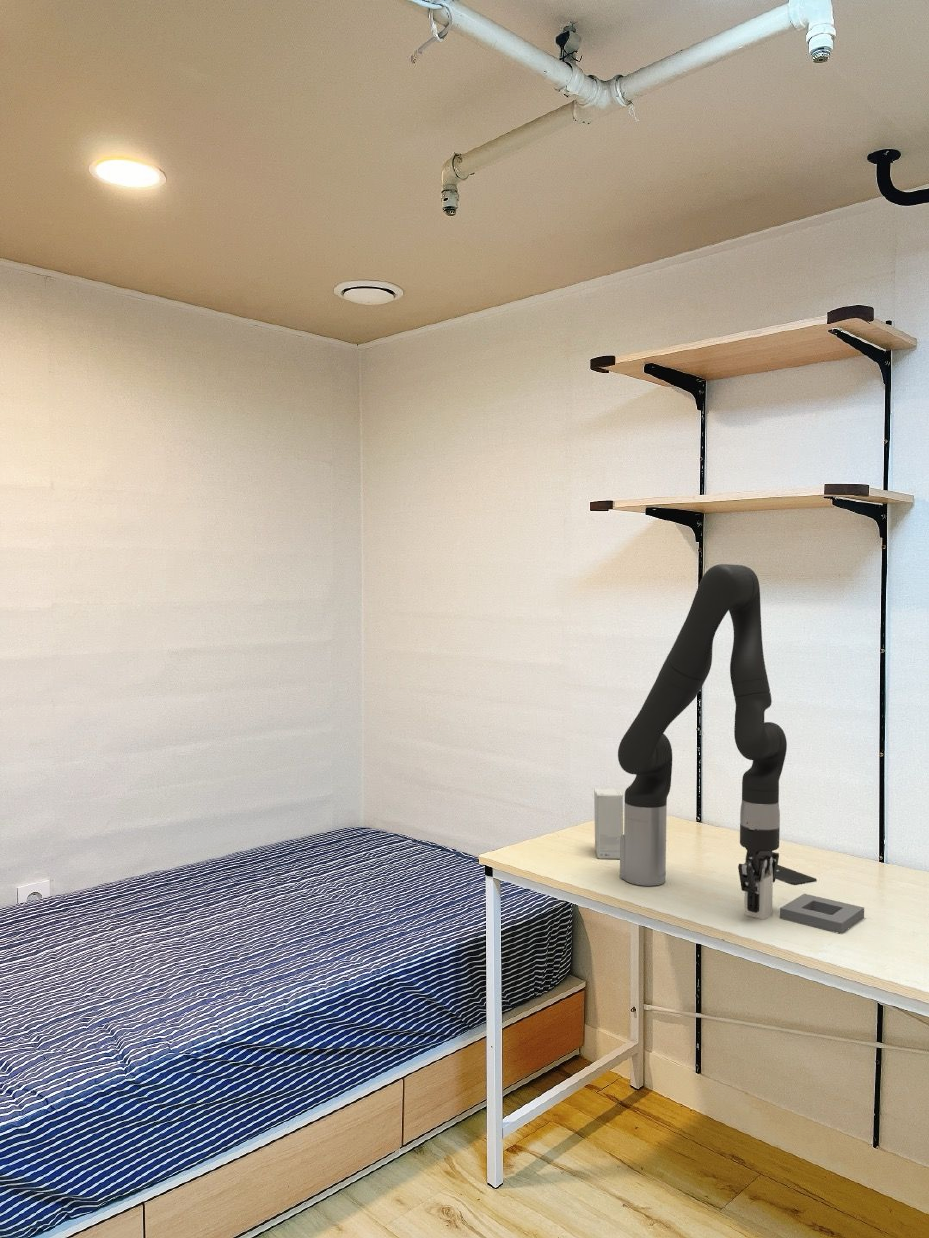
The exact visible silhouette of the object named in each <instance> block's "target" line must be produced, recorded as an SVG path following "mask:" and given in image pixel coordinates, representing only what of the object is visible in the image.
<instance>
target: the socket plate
mask: <svg viewBox="0 0 929 1238" xmlns="http://www.w3.org/2000/svg"><path fill="white" fill-rule="evenodd" d="M864 918H865V907H863V906H859V905H855V904H850V903H845V902H842V901H838V900H834V899H829V898H825V897H821V896H816V895H811V894H807V893H803V894H801V895H799V896H798V897H796V898H795V899H793V900H791V901H789V902H788V903H786V904H784V905H783V906H781V907H779V919H782V920H786V921H789V922H794V923H797V924H801V925H806V926H809V927H813V928H816V927H817V928H818V929H821V930H824V931H828V932H832V933H836V932H838V933H837V934H840V933H842V934H844V933H845V932H846V931H848V930H849V929H850V928H852V927H853V926H854V925H856V924H857V923H859V922H860V921H861V920H863V919H864ZM851 926H852V927H851ZM848 928H849V929H848Z"/></svg>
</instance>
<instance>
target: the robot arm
mask: <svg viewBox="0 0 929 1238" xmlns="http://www.w3.org/2000/svg"><path fill="white" fill-rule="evenodd" d="M760 587H761V586H760V581H759V579H758V576H757V574H756V572H755V570H753V569H751V568H750V567H748V566H746V565H742V564H741V565H740V564H731V563H730V564H727V563H720V564H716V565H713V566H711V567H710V568H708V570H707V571H706V572H705V573H704V575H702V578H701V580H700V582H699V584H698V586H697V589H696V592H695V595H694V597H693V599H692V603H691V606H690V608H689V611H688V614H687V616H686V618H685V621H684V622H683V625H682V626H681V628H680V630H679V633H678V634H677V636H676V639H675V641H674V642H673V645H672V648H670V651H669V653H668V655H667V656H666V658H665V660H664V663H663V664H662V665H661V668H660V670H659V672H658V675H657V677H656V679H655V681H654V683H653V685H652V687H651V689H650V691H649V693H648V695H647V696H646V698H645V701H644V703H643V705H641V706H642V707H641V708H640V710H639V712H638V714H637V715H636V717H635V718H634V719H633V721H632V723H631V724H630V726H629V727H628V729H627V731H626V732H625V734H624V735H623V737H622V738H621V739H620V740H621V741H620V742H619V745H618V750H617V759H618V763H619V766H620V768H621V769H622V770H623V772H625V773H628V774H629V775H636V776H635V777H634V779H633V781H632V783H631V784H630V785H628V787H627V788H626V789H625V791H624V804H623V835H621V837H620V859H619V879H623V880H624V881H625V882H627V883H629V884H632V885H636V886H637V885H638V886H644V887H645V886H649V887H653V886H659V885H662V884H664V883H666V874H667V873H666V872H667V869H666V867H667V862H666V861H667V816H668V815H667V814H668V813H667V808H668V806H667V803H668V796H669V794H670V791H671V787H672V771H673V748H672V744H671V741H670V739H669V738H668V737H667V735H666V734H665V732H666V730H667V729H668V727H669V726H670V725H671V724H672V723H673V721H675V720H676V718H678V716H680V714H682V712H684V710H686V709H687V708H688V707H689V705H690V704H691V703H692V702H693V701H695V699H696V697H697V695H698V694H699V693H700V691H701V689H702V687H703V685H704V684H705V682H706V680H707V677H708V676H709V674H710V671H711V669H712V663H713V647H714V646H713V645H714V643H713V642H714V638H715V635H716V633H717V630H718V628H719V627H720V625H721V623H722V621H723V619H724V618H725V616H726V615H727V613H728V612H729V615H730V618H731V623H732V627H733V629H732V630H733V643H732V650H731V655H730V662H729V675H730V683H731V687H732V688H731V689H732V691H733V697H734V702H735V713H734V726H733V727H734V728H733V729H734V730H733V732H734V742H735V745H736V748H737V750H738V751H739V753H740V755H741V756H743V758H744V759H747V760H749V761H752V763H751V766H750V768H749V769H748V770H746V771H744V773H743V775H742V780H741V803H740V812H739V815H740V816H739V821H740V822H739V844H740V846H741V847H743V848H744V849H745V850H746V854H745V861H744V863H738V866H737V869H738V875H739V876H738V877H739V881H740V882H739V883H740V889H741V891H743V892H745V891H746V892H747V893H748V894H747V909H748V911H751V912H755V913H757V912H759V892H760V883H761V882H762V881H763V878H764V874H766V873H767V874H768V875H771V874H772V875H773V884H774V883H775V882H776V880H777V879H776V873H777V866H778V865H779V859H780V853H779V852H774V851H777V850H778V849H779V848H780V835H781V834H780V832H781V831H780V828H781V827H780V826H781V825H780V823H781V822H780V821H781V819H780V818H781V811H780V803H779V802H780V799H779V798H780V778H781V774H782V773H783V767H784V765H785V764H784V763H785V760H786V754H787V750H788V746H787V745H788V742H787V738H786V735H785V734H786V733H785V731H784V730H783V728H782V727H781V726H780V725H778V724H777V723H775V722H772V721H771V722H769V721H765V712H766V710H768V709H769V708H770V707H771V705H772V702H773V701H772V694H771V688H770V684H769V678H768V674H767V668H766V664H765V657H764V656H765V655H764V647H763V635H762V634H763V632H762V615H761V613H762V612H761V611H762V609H761V588H760ZM767 871H768V872H767ZM754 875H757V876H759V877H758V878H757V877H754ZM755 882H756V886H755Z"/></svg>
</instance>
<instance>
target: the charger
mask: <svg viewBox="0 0 929 1238" xmlns="http://www.w3.org/2000/svg"><path fill="white" fill-rule="evenodd" d="M754 877H757V878H758V877H759V876H757V875H754ZM755 886H756V882H755ZM773 890H774V883H773V875H772V874H771V875H768V874H767V873H766V874H764V878H763V881H762V882H761V883H760V892H759V912H757V913H755V912H751V911H748V909H747V894H748V893H747V892H746V891H744V900H743V901H744V903H743V904H744V905H743V906H744V909H743V910H744V911H743V914H745V916H748V917H753V918H756V919H760V920H766V919H767V918H768V917H770V916H773V892H774V891H773Z"/></svg>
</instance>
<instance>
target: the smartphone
mask: <svg viewBox="0 0 929 1238" xmlns="http://www.w3.org/2000/svg"><path fill="white" fill-rule="evenodd" d="M767 872H768V871H767ZM775 880H778V881H781V882H783V883H786V884H788V885H791V886H798V885H803V884H809V883H815V882H817V878H815V877H813V876H810V875H808V874H807V875H806V874H804V873H802V872H799V871H796V870H794V869H790V868H788V867H786V866H785V867H784V866H783V865H780V864H778V866H777V873H776V879H775Z"/></svg>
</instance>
